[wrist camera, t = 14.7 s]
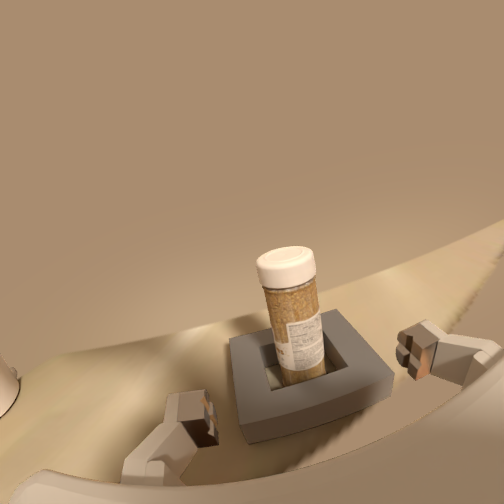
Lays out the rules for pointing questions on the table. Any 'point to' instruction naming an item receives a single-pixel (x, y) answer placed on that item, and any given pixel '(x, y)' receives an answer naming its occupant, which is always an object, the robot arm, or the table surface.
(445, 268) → the table surface
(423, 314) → the table surface
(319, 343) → the sprinkles bottle
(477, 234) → the table surface
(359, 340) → the square frame
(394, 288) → the table surface
